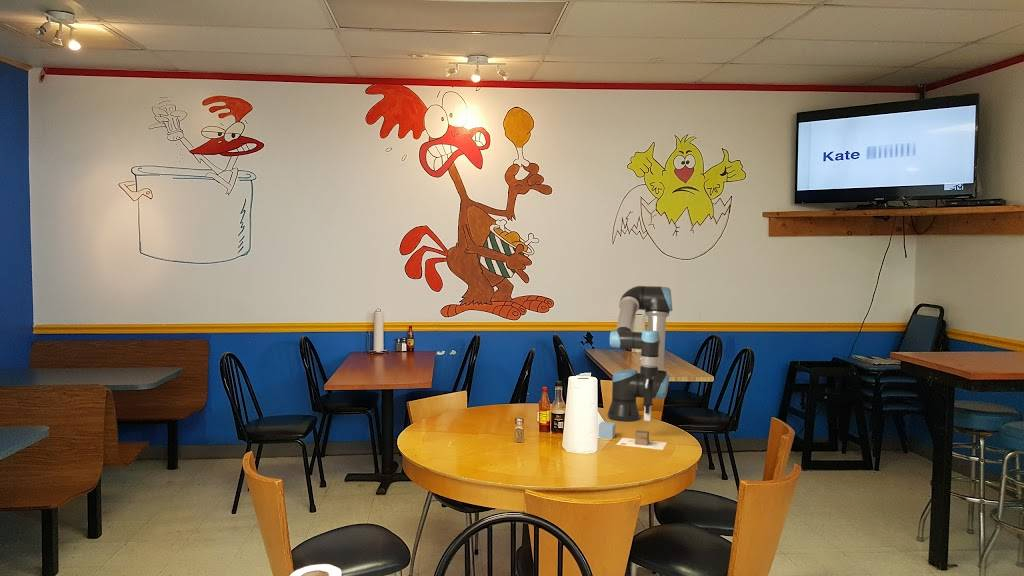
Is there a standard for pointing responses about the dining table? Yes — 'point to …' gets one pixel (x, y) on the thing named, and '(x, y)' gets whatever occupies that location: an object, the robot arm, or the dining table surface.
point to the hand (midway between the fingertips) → (647, 420)
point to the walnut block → (641, 437)
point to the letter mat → (650, 445)
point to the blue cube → (607, 430)
